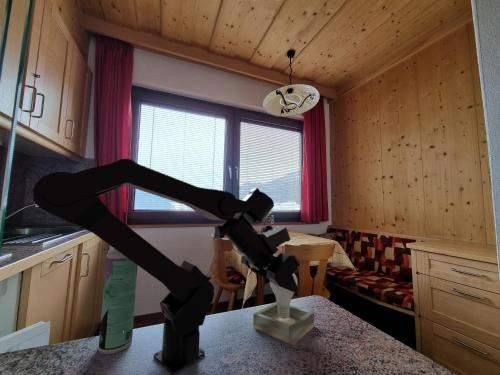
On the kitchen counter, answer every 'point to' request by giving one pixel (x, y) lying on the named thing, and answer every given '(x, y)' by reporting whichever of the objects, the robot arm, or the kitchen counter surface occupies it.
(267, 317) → the open box
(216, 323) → the kitchen counter surface
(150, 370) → the kitchen counter surface
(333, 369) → the kitchen counter surface
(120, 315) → the spray can
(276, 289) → the lightbulb
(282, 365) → the kitchen counter surface
